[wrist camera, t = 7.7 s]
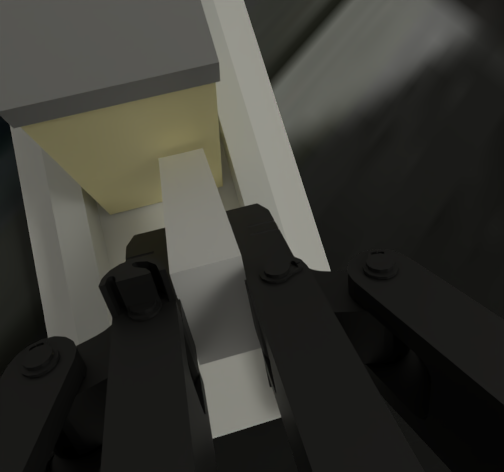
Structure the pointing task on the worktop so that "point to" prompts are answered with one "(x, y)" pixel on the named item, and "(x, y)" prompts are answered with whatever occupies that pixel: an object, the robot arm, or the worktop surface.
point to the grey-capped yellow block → (111, 89)
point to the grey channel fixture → (152, 218)
